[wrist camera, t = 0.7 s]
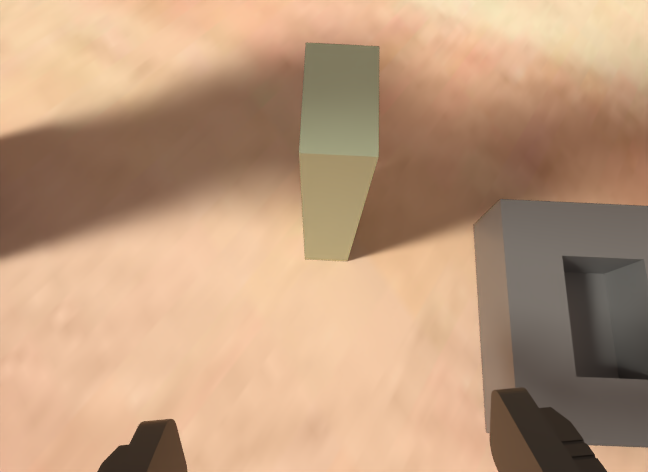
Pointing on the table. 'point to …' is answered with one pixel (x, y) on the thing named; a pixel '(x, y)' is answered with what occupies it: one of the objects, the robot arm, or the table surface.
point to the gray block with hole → (567, 312)
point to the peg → (337, 144)
